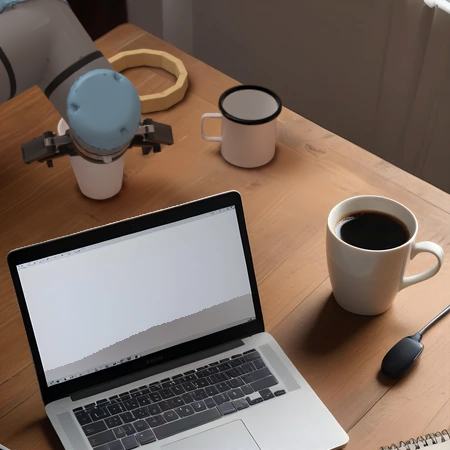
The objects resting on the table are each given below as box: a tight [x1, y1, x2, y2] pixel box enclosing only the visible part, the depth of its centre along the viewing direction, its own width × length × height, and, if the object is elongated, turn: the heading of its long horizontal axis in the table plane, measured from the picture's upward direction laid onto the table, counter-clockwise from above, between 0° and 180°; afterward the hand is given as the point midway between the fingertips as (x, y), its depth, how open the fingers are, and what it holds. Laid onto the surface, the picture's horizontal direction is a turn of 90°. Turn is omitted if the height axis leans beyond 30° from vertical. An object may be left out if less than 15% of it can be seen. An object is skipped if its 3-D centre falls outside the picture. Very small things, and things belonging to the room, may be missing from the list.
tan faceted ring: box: [107, 48, 189, 114], centre depth 139 cm, size 14×14×2 cm
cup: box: [57, 117, 126, 200], centre depth 119 cm, size 10×10×11 cm
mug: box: [200, 83, 283, 168], centre depth 126 cm, size 12×10×9 cm
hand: (96, 151), depth 120 cm, fingers open, 13 cm apart
